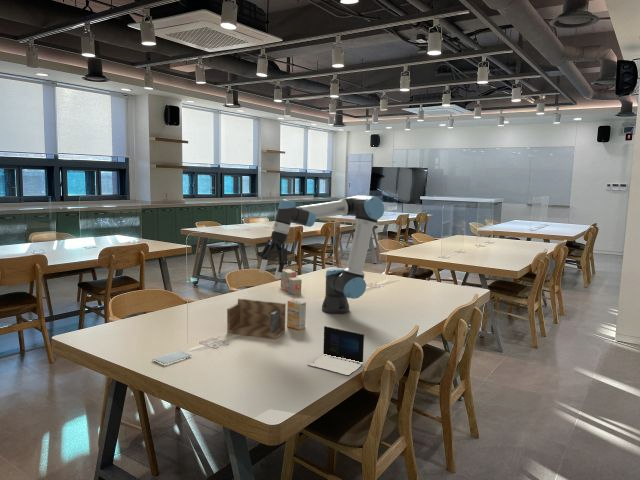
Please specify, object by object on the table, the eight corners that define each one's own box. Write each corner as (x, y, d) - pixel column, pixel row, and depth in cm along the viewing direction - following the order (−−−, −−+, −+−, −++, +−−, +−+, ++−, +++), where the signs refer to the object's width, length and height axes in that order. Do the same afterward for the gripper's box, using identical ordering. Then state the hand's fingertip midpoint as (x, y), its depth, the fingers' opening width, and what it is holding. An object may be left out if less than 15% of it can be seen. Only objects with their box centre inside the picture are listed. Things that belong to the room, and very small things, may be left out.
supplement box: (286, 326, 230) (286, 300, 229) (292, 324, 234) (293, 298, 232) (299, 330, 225) (299, 303, 224) (305, 328, 229) (306, 301, 227)
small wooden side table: (285, 331, 224) (285, 303, 222) (275, 339, 212) (275, 309, 211) (238, 325, 231) (239, 298, 229) (227, 332, 219) (227, 304, 217)
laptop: (307, 366, 183) (307, 334, 182) (323, 356, 194) (324, 325, 192) (348, 377, 174) (349, 343, 173) (363, 366, 185) (364, 334, 183)
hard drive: (165, 363, 179) (191, 354, 189) (152, 358, 184) (179, 349, 194) (165, 368, 179) (192, 358, 189) (152, 362, 184) (179, 353, 194)
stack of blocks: (301, 294, 297) (301, 274, 295) (292, 294, 294) (292, 275, 293) (289, 286, 316) (289, 268, 315) (280, 287, 314) (280, 269, 312)
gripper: (260, 227, 231) (249, 269, 231) (288, 234, 212) (277, 280, 212) (272, 230, 236) (262, 271, 236) (301, 237, 217) (290, 282, 217)
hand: (269, 275), depth 224 cm, fingers open, 13 cm apart
